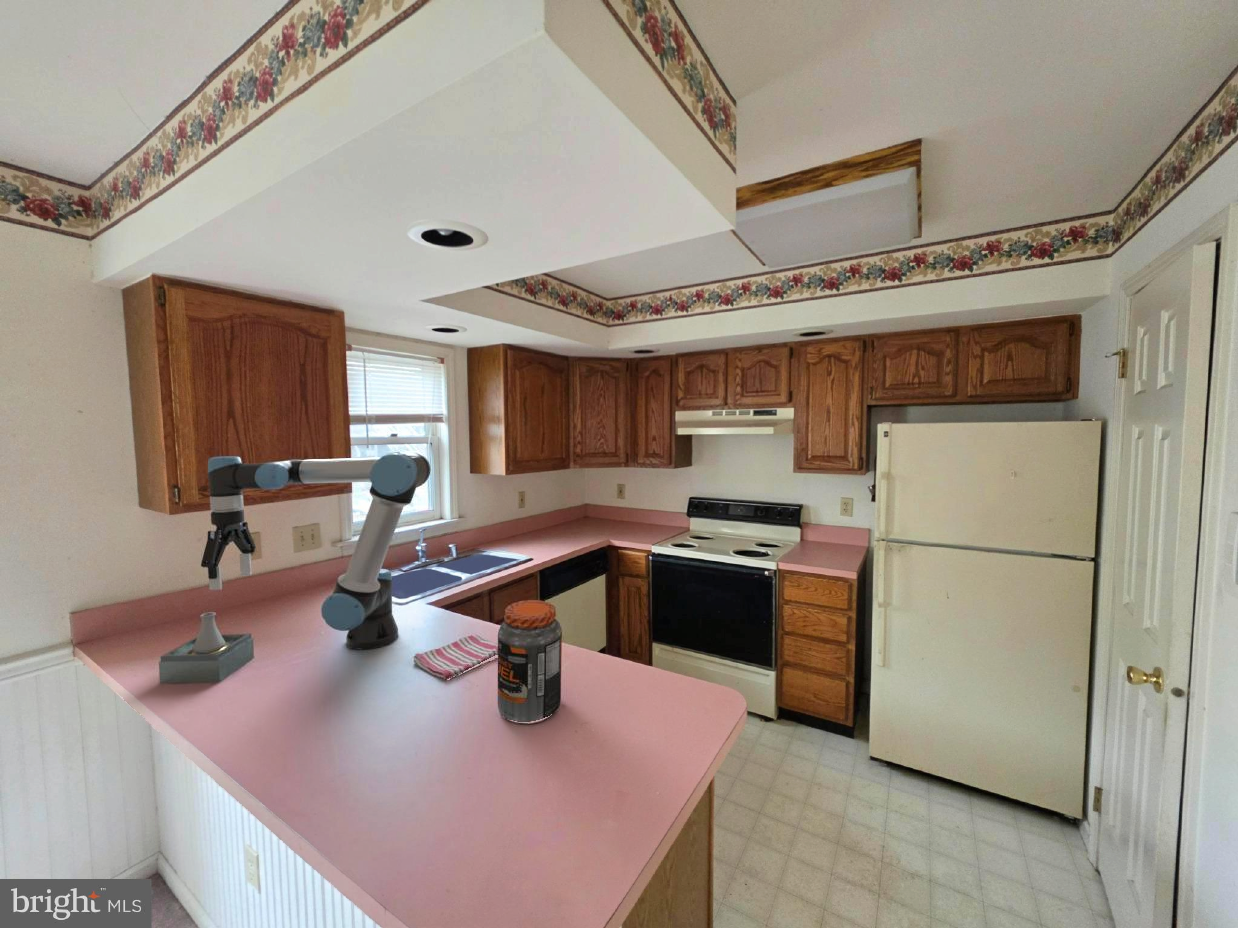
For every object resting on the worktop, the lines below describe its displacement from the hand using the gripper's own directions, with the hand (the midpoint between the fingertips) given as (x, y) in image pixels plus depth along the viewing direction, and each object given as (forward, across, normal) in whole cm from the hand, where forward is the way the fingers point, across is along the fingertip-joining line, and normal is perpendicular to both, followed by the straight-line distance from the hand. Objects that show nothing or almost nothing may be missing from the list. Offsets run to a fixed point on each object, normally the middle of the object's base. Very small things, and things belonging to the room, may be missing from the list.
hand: (231, 581), depth 143 cm
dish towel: (+26, +5, +66) cm, 71 cm away
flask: (+17, +6, -3) cm, 19 cm away
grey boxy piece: (+23, +6, -3) cm, 24 cm away
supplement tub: (+26, +34, +87) cm, 97 cm away
